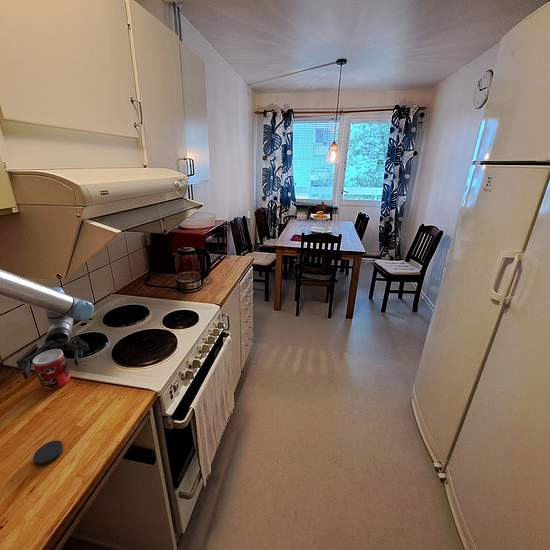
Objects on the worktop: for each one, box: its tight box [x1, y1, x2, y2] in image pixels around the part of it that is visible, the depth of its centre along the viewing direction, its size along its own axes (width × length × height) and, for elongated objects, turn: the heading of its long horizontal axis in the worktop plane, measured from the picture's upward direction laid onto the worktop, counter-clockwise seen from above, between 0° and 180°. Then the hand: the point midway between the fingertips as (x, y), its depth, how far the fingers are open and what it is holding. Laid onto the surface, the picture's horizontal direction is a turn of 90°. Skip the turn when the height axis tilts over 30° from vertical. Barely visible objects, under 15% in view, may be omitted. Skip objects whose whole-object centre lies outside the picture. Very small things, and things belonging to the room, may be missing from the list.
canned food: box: [32, 349, 71, 392], centre depth 94 cm, size 8×8×11 cm
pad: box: [32, 440, 65, 467], centre depth 73 cm, size 6×6×1 cm
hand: (51, 368), depth 93 cm, fingers open, 13 cm apart
